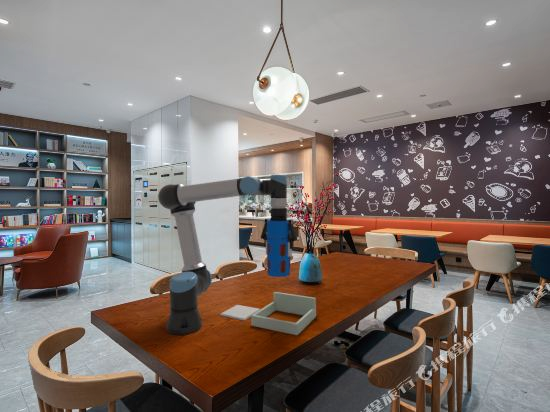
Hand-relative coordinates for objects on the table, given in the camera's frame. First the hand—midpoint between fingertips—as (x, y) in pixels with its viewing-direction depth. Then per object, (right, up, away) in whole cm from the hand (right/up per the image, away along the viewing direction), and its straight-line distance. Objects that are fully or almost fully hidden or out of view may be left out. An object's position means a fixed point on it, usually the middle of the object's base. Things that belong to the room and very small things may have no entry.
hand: (278, 255), depth 139 cm
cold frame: (+3, -30, -1) cm, 31 cm away
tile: (-19, -31, +10) cm, 37 cm away
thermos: (0, -9, 0) cm, 9 cm away
